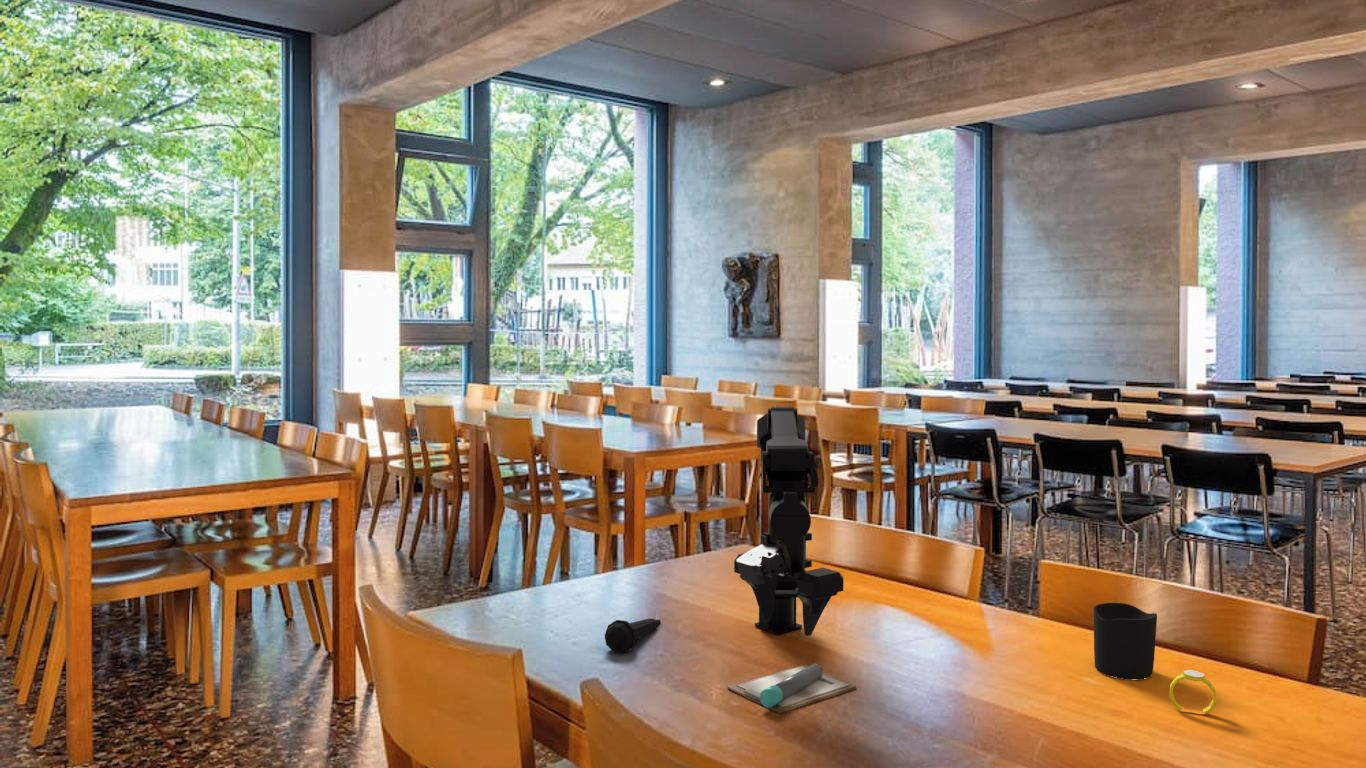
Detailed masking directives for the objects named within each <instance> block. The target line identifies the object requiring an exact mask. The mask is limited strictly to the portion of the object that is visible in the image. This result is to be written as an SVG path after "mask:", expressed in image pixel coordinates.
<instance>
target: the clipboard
mask: <svg viewBox="0 0 1366 768" xmlns="http://www.w3.org/2000/svg"><path fill="white" fill-rule="evenodd" d="M807 667H808V666H806V665H804V664H800V665H796V666H793V667H790V668H787V669H783V670H779V671H777V672H773V673H770V674H766V675H763V676H759V677H756V678H752V679H749V680H745V681H742V682H739V683H736V684H730V685H728V686H727V688H726V689H727V690H728V689H730V690H731V691H730V690H729V691H730V692H732V691H734V692H733V693H735V692H736V693H735V694H737V693H738V694H737V695H739V694H740V695H739V696H741V695H742V696H741V697H743V696H744V697H743V698H745V697H746V698H745V699H747V698H748V700H749V701H752V702H753V703H756V704H758V705H760V704H761V705H760V706H762V703H761V701H760V693H761V692H762V691H763V690H765V689H767V688H768V687H770V686H772V685H776V684H778V683H780V682H781V681H783V680H785V679H787V678H789V677H790V676H792V675H794V674H796V673H798V672H800V671H801V670H803V669H805V668H807ZM856 689H857V686H856V685H854V684H852V683H849V682H846V681H845V680H842V679H839V678H837V677H834V676H832V675H829V674H827V673H824V672H823V675H822V677H821V678H820V679H818V680H816V681H815V682H813V683H811V684H809V685H808V686H806V687H804V688H803V689H801V690H799V691H797V692H796V693H794V694H792V695H790V696H789V697H787V698H785V699H784V700H782V701H781V702H779V703H778V704H776V705H774V706H772V707H771V708H768V709H769V710H771V711H772V712H775V711H776V713H777V714H782V713H783V714H784V713H786V712H789V711H792V710H794V709H798V708H801V707H804V706H807V705H810V703H811V704H814V703H816V702H815V701H817V702H820V701H823V700H826V699H828V698H832V697H834V696H837V695H841V694H844V693H847V692H850V691H854V690H856ZM825 698H826V699H825ZM822 699H823V700H822ZM819 700H820V701H819ZM813 702H814V703H813ZM800 706H801V707H800ZM797 707H798V708H797Z"/></svg>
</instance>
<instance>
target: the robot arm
mask: <svg viewBox="0 0 1366 768" xmlns="http://www.w3.org/2000/svg"><path fill="white" fill-rule="evenodd" d="M756 448H757V449H759V448H760V460H761V476H762V478H761V479H762V481H761V482H762V483H761V484H762V485H761V487H762V494H768V497H767V499H768V500H767V501H768V503H767V504H768V506H767V507H768V508H767V510H768V511H767V518H768V519H767V523H768V524H767V531H766V532H762V535H761V536H760V544H759V545H757V546H755V547H753V548H751V549H750V550H748V551H747V552H744V553H738V554H737V556H736V557H735V558H734V560H733V562H734V565H733V568H734V569H733V571H734V573H736V574H739V578H740V579H741V580H742V581H745V582H746V583H747V584H748V586H750V587H751V589H752V592H753V594H754V598H755V599H756V602H757V606H758V622H755V623H754V627H756V628H759V629H762V630H764V631H767V632H769V633H773V634H775V635H780V634H784V633H788V632H791V631H794V630H799V629H802V628H803V633H804V637H809V636H810V637H811V635H813V632H814V630H815V628H816V626H817V624H818V621H819V620H820V618H821V616H822V615H823V612H824V610H825V608H826V607H827V606H828V603H830V600H831V598H832V597H834V596H837V595H838V593H841V592H843V591H844V582H845V581H844V576H843V575H842V574H841V572H840V571H837V570H834V569H829V568H826V567H819V568H814V569H810V570H806V569H808V568H812V567H813V562H812V559H809V558H807V541H809V542H810V541H812V540H813V533H811V532H809V530H810V528H811V524H812V518H811V515H810V512H809V509H808V505H807V496H806V494H815V488H816V487H819V477H818V476H819V474H818V462H817V461H818V460H817V458H816V457H815V454H814V453H813V451H809V445H808V442H807V440H806V420H805V418H804V417H801V416H800V415H799V414H798V408H796V407H794V406H771V407H768V408H767V411H766V414H764V415H763V416H761V417H760V418H758V419H757V421H756ZM767 482H768V485H767ZM797 599H799V600H800V602H801V603H802V604H801V605H802V623H803V624H801V623H798V622H797Z"/></svg>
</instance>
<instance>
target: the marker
mask: <svg viewBox="0 0 1366 768" xmlns="http://www.w3.org/2000/svg"><path fill="white" fill-rule="evenodd" d="M823 673H824V672H823V667H822V666H820V665H819V664H817V663H812V664H811V665H809V666H807V668H805V669H803V670H801V671H800V672H798V673H796V674H794V675H792V676H790V677H789V678H787V679H785V680H783V681H781V682H780V683H778V684H776V685H772V686H770V687H768V688H767V689H765V690H763V691H762V692H761V693H760V701H761V703H762V705H763V706H762V705H761V706H762V707H765V708H767V709H769V708H771V707H772V706H774V705H776V704H778V703H779V702H781V701H782V700H784V699H785V698H787V697H789V696H790V695H792V694H794V693H796V692H797V691H799V690H801V689H803V688H804V687H806V686H808V685H809V684H811V683H813V682H815V681H816V680H818V679H820V678H821V677H822V675H823Z"/></svg>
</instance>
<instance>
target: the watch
mask: <svg viewBox="0 0 1366 768" xmlns="http://www.w3.org/2000/svg"><path fill="white" fill-rule="evenodd" d="M1182 671H1183V670H1182ZM1185 679H1186V680H1189V681H1193V682H1202V683H1204V684H1205V685H1206V686H1207V687H1208V688H1209V690H1210V692H1211V693H1212V700H1211V702H1209V706H1207V707H1205V708H1204V709H1202V710H1203V712H1204V713H1207V714H1209V713H1210V712H1212V711H1213V709H1214V707H1215V706H1216V703H1217V696H1216V695H1217V694H1216V689H1215V687H1214V686H1213V684H1212V683H1211V681H1210V680H1209V679H1208V678H1206V676H1205V674H1204V673H1203V672H1200V671H1196V670H1193V669H1187V670H1186V669H1185V670H1184V671H1183V672H1182V673H1181V674H1179V675H1177V676H1175V678H1174V679H1173V680H1172V681H1171V682H1170V685H1169V698H1170V701H1171V703H1172V705H1173V707H1175V709H1177V710H1178V709H1180V710H1182V707H1183V706H1182V705H1180V704H1179V703H1178V702H1177V701H1176V699H1175V696H1174V692H1173V691H1174V688H1175V686H1176V685H1177V684H1178V682H1180V681H1183V680H1185Z"/></svg>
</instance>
